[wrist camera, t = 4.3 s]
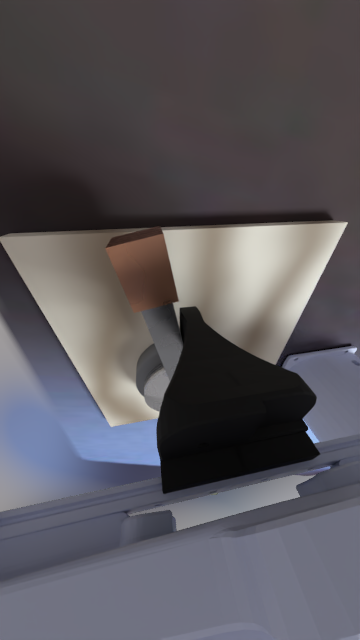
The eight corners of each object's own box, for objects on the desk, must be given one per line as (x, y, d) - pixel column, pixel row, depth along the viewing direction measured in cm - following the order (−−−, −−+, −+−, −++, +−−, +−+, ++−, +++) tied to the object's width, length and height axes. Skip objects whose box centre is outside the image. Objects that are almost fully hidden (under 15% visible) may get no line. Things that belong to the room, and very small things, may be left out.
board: (334, 220, 12) (372, 226, 10) (254, 393, 25) (263, 410, 23) (10, 233, 9) (-26, 245, 7) (112, 418, 22) (109, 440, 21)
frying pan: (211, 212, 8) (226, 217, 6) (222, 391, 18) (229, 409, 16) (59, 250, 8) (40, 264, 6) (156, 409, 18) (157, 429, 16)
